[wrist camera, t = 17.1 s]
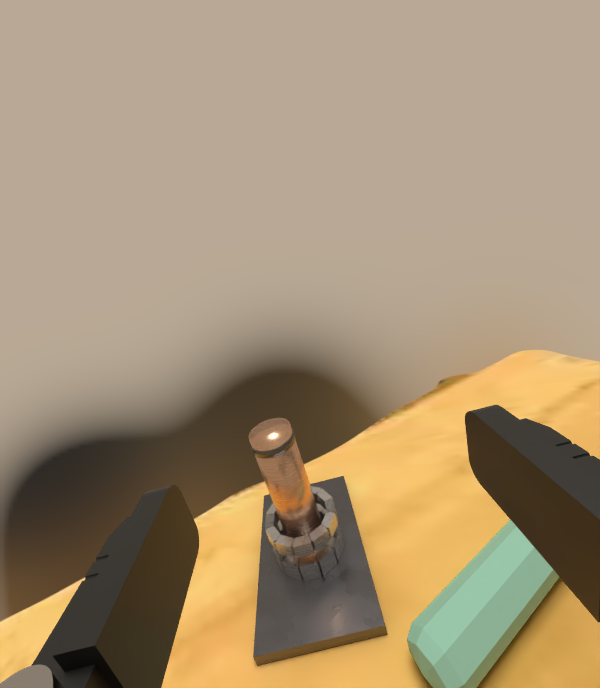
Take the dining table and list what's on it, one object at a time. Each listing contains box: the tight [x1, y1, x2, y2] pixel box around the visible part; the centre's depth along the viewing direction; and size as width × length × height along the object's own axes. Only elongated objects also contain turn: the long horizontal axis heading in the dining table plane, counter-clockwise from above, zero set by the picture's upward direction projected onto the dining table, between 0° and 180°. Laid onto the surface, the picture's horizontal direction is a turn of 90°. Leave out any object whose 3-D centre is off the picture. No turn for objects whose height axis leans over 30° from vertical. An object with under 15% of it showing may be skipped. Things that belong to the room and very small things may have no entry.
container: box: [407, 520, 559, 688], centre depth 28 cm, size 6×6×25 cm
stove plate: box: [253, 476, 387, 666], centre depth 36 cm, size 12×19×6 cm, turn 3°
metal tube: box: [249, 418, 323, 558], centre depth 34 cm, size 5×5×16 cm
